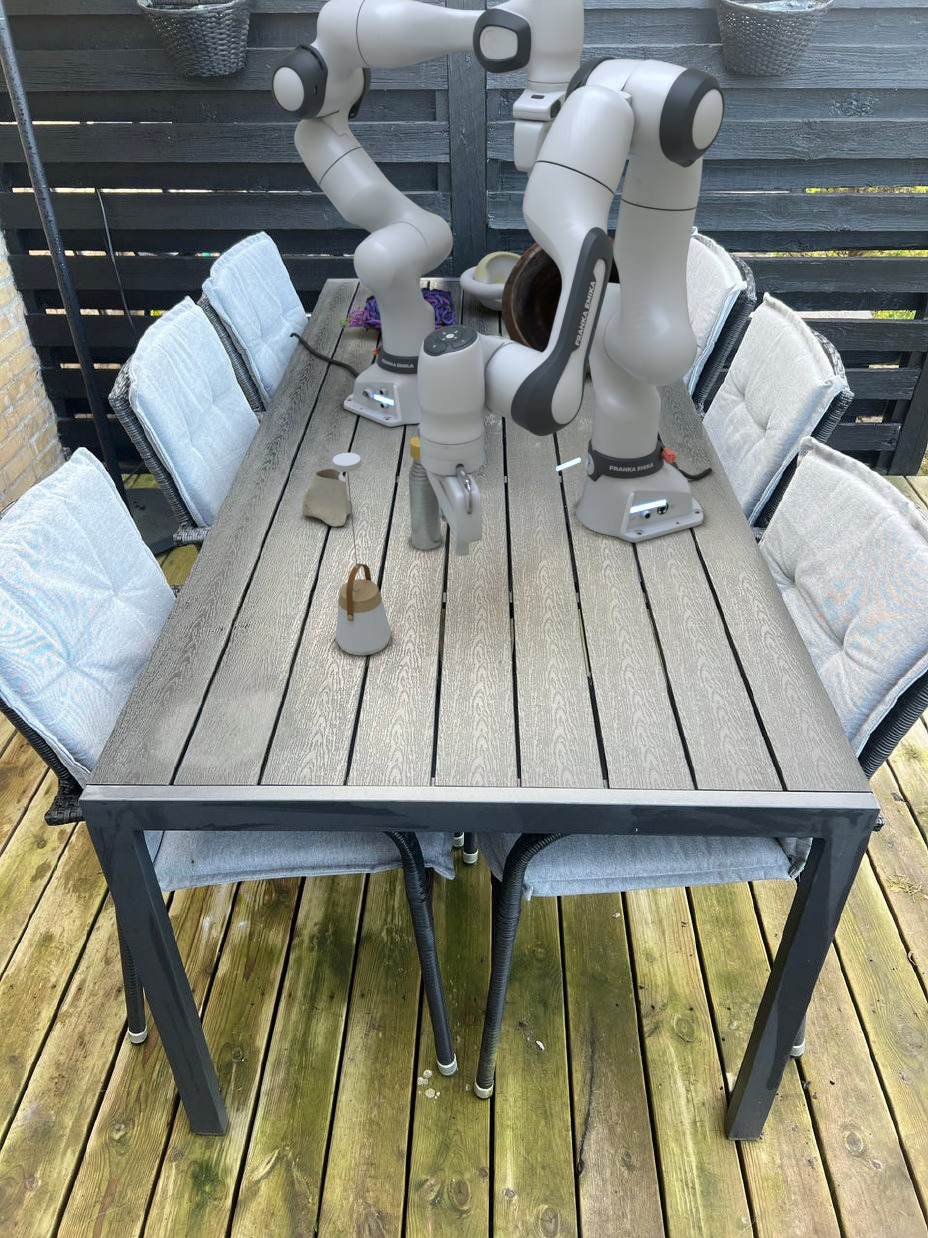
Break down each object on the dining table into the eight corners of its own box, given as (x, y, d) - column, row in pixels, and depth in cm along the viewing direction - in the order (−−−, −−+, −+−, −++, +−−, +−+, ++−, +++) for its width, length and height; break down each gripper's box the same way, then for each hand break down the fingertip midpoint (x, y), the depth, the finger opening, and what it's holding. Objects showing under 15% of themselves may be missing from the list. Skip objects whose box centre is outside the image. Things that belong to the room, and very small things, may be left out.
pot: (527, 218, 229) (547, 194, 200) (639, 277, 234) (675, 262, 205) (471, 342, 235) (483, 336, 206) (582, 397, 240) (609, 398, 211)
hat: (455, 295, 261) (454, 240, 252) (532, 292, 263) (534, 237, 254) (465, 327, 242) (464, 268, 233) (548, 323, 244) (550, 264, 235)
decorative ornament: (459, 312, 230) (337, 314, 227) (457, 347, 238) (340, 349, 236) (454, 280, 238) (336, 281, 235) (453, 315, 246) (339, 317, 244)
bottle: (446, 539, 161) (444, 441, 150) (429, 553, 158) (425, 453, 146) (423, 531, 163) (419, 433, 152) (406, 543, 160) (400, 445, 149)
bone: (352, 523, 169) (358, 468, 167) (345, 530, 162) (351, 474, 159) (303, 516, 169) (308, 461, 167) (294, 523, 162) (299, 466, 159)
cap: (440, 453, 151) (440, 439, 149) (425, 463, 148) (424, 449, 147) (420, 446, 153) (420, 433, 151) (405, 456, 150) (404, 442, 149)
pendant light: (377, 661, 135) (361, 478, 117) (326, 649, 137) (303, 468, 119) (399, 628, 141) (388, 450, 123) (351, 617, 143) (332, 440, 125)
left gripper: (563, 89, 161) (558, 175, 170) (507, 107, 147) (505, 200, 156) (596, 91, 159) (590, 179, 167) (543, 110, 145) (539, 205, 153)
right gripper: (494, 482, 119) (493, 571, 127) (457, 415, 135) (458, 498, 143) (446, 489, 118) (448, 578, 126) (415, 420, 134) (418, 504, 142)
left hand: (549, 189), depth 161 cm, fingers open, 8 cm apart
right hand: (453, 535), depth 135 cm, fingers open, 8 cm apart
